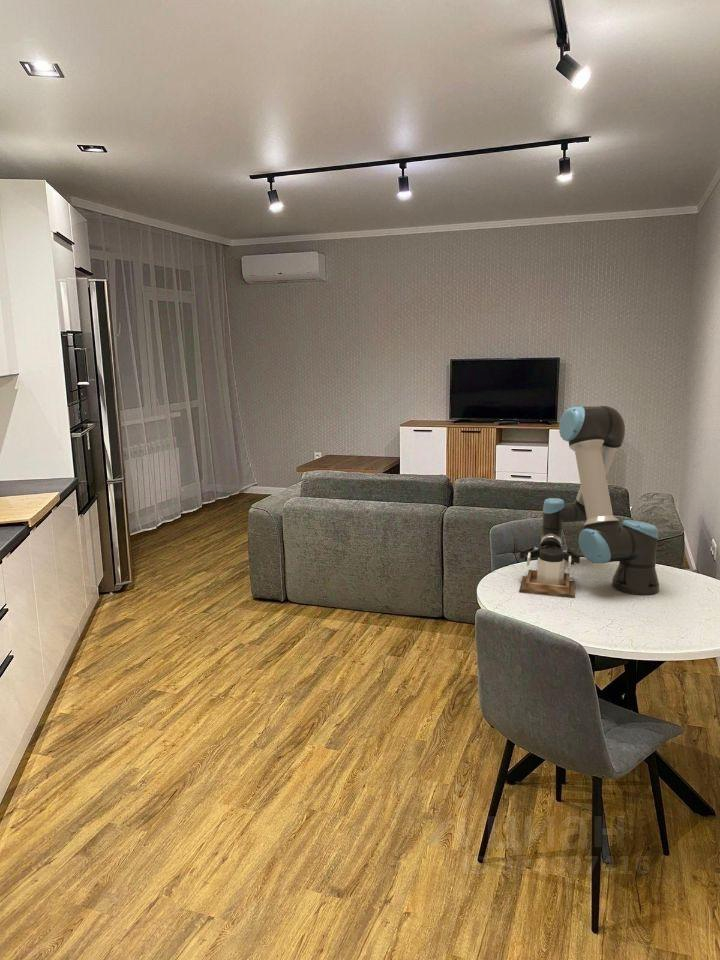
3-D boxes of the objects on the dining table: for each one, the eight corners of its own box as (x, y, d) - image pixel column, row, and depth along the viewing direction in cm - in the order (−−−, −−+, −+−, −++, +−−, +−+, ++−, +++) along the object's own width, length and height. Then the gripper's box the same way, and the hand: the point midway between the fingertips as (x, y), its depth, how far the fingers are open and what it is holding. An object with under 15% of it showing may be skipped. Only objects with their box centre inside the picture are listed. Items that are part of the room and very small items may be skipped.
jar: (556, 591, 240) (558, 556, 238) (533, 585, 245) (535, 552, 243) (566, 584, 247) (568, 550, 245) (544, 579, 252) (545, 546, 250)
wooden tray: (574, 583, 251) (575, 574, 250) (574, 597, 237) (575, 587, 236) (522, 578, 256) (522, 569, 255) (519, 592, 242) (519, 582, 241)
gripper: (585, 559, 259) (586, 577, 239) (515, 553, 266) (510, 570, 246) (587, 539, 258) (588, 556, 238) (516, 534, 265) (511, 549, 245)
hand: (548, 563), depth 242 cm, fingers open, 13 cm apart
